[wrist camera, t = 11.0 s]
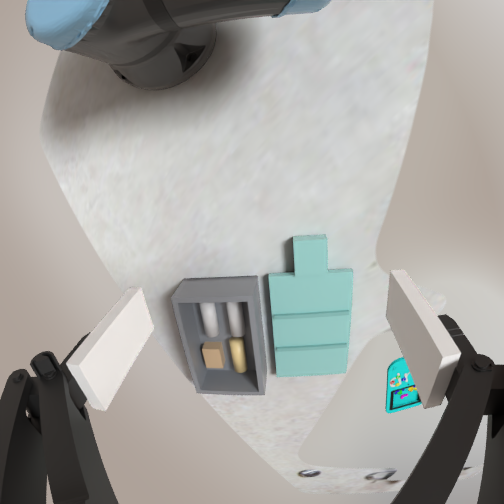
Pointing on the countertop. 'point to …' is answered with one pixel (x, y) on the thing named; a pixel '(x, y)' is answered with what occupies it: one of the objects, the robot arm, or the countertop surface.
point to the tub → (222, 334)
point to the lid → (311, 312)
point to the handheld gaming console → (400, 387)
